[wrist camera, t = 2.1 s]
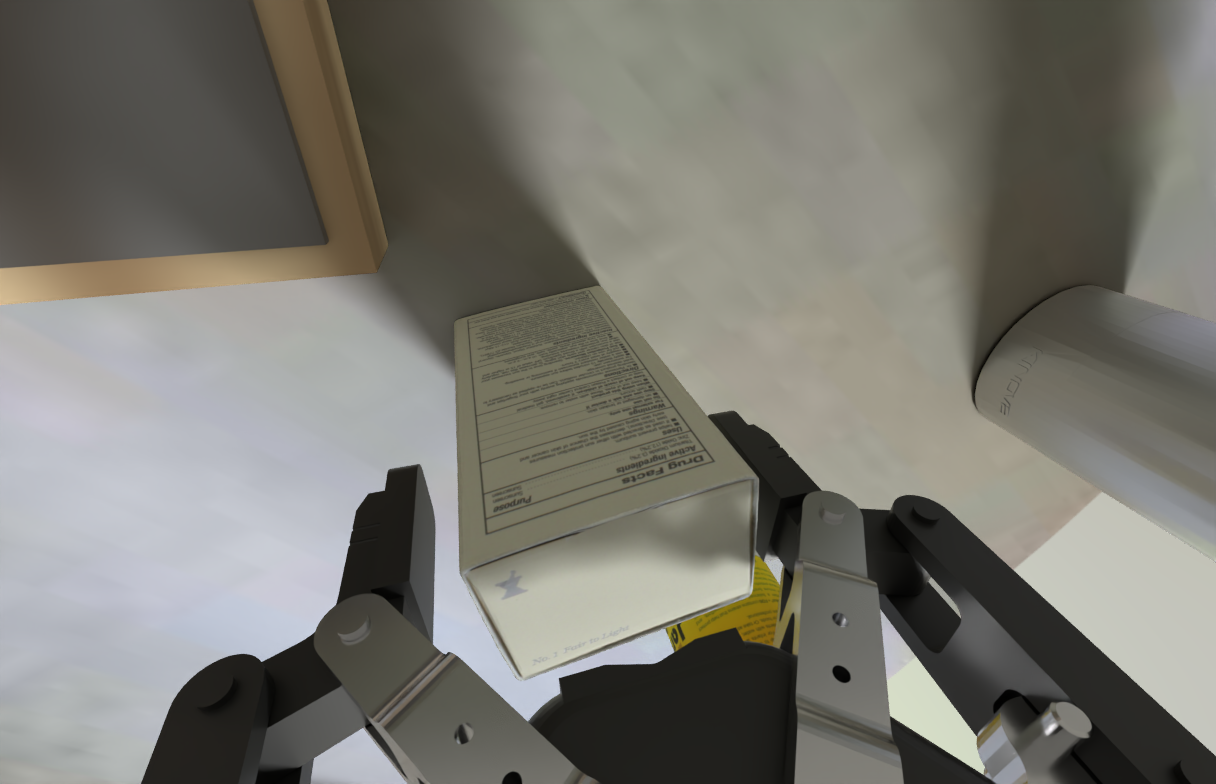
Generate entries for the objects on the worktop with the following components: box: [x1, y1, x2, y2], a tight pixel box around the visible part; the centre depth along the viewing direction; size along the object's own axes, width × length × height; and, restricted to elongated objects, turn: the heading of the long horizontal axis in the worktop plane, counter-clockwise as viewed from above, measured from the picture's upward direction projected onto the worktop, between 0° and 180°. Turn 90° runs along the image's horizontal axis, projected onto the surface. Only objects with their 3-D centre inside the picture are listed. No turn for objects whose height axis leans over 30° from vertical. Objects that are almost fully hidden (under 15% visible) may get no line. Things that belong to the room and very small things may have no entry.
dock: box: [0, 0, 388, 305], centre depth 11 cm, size 12×11×3 cm
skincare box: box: [454, 286, 759, 681], centre depth 15 cm, size 6×4×12 cm
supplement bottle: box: [665, 552, 780, 652], centre depth 25 cm, size 7×7×13 cm
